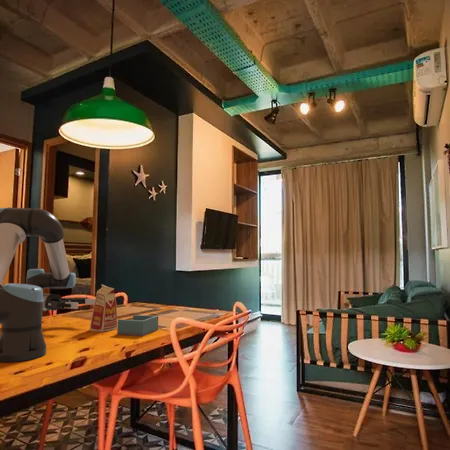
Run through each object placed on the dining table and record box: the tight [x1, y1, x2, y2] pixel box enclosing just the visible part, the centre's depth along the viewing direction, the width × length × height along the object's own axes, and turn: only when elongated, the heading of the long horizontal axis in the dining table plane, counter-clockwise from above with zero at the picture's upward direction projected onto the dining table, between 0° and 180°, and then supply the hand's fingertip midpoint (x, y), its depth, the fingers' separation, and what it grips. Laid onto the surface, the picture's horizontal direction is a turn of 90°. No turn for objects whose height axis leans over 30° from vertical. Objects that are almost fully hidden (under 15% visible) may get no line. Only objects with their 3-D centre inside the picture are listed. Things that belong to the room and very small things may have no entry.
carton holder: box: [116, 314, 159, 337], centre depth 153 cm, size 12×13×6 cm
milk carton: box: [89, 284, 118, 333], centre depth 159 cm, size 9×9×20 cm
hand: (87, 303), depth 162 cm, fingers open, 13 cm apart
